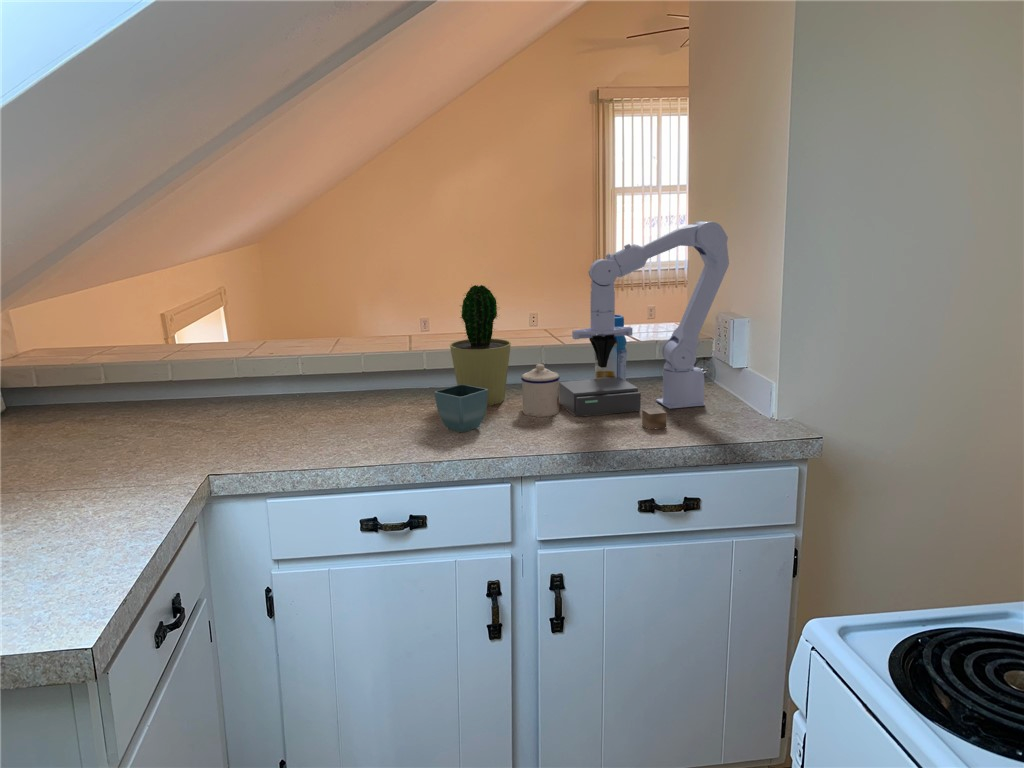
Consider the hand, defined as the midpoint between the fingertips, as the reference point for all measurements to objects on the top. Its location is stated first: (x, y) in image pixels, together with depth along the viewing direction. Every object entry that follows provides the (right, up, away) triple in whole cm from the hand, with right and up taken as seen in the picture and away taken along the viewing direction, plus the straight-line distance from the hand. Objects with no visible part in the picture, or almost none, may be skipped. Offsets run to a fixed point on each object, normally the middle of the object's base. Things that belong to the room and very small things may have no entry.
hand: (602, 366), depth 179 cm
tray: (-1, -10, +1) cm, 10 cm away
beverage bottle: (+4, -6, +16) cm, 18 cm away
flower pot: (-33, -14, -13) cm, 38 cm away
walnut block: (+10, -14, -15) cm, 22 cm away
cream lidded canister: (-16, -11, 0) cm, 19 cm away
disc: (-1, -8, +1) cm, 8 cm away
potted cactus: (-29, -9, +11) cm, 32 cm away
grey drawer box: (-1, -10, +2) cm, 10 cm away
